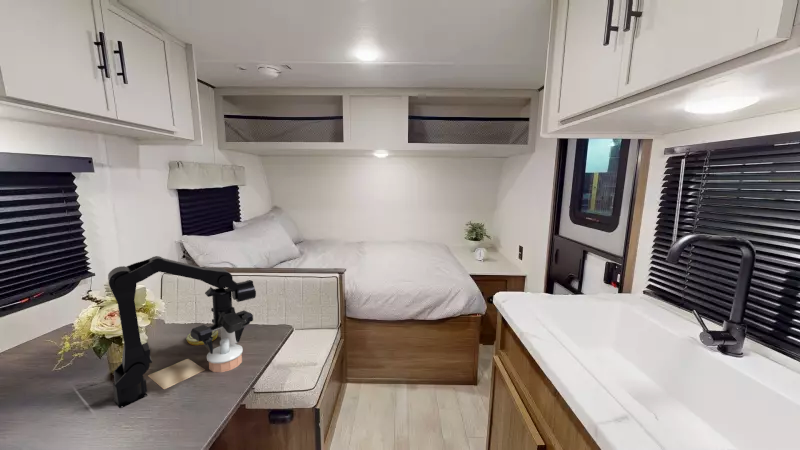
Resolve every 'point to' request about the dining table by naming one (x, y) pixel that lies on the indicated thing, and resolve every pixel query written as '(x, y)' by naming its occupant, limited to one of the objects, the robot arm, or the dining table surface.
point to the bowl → (225, 365)
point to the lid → (224, 352)
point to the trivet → (175, 373)
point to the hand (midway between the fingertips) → (225, 347)
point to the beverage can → (228, 336)
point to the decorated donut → (195, 342)
